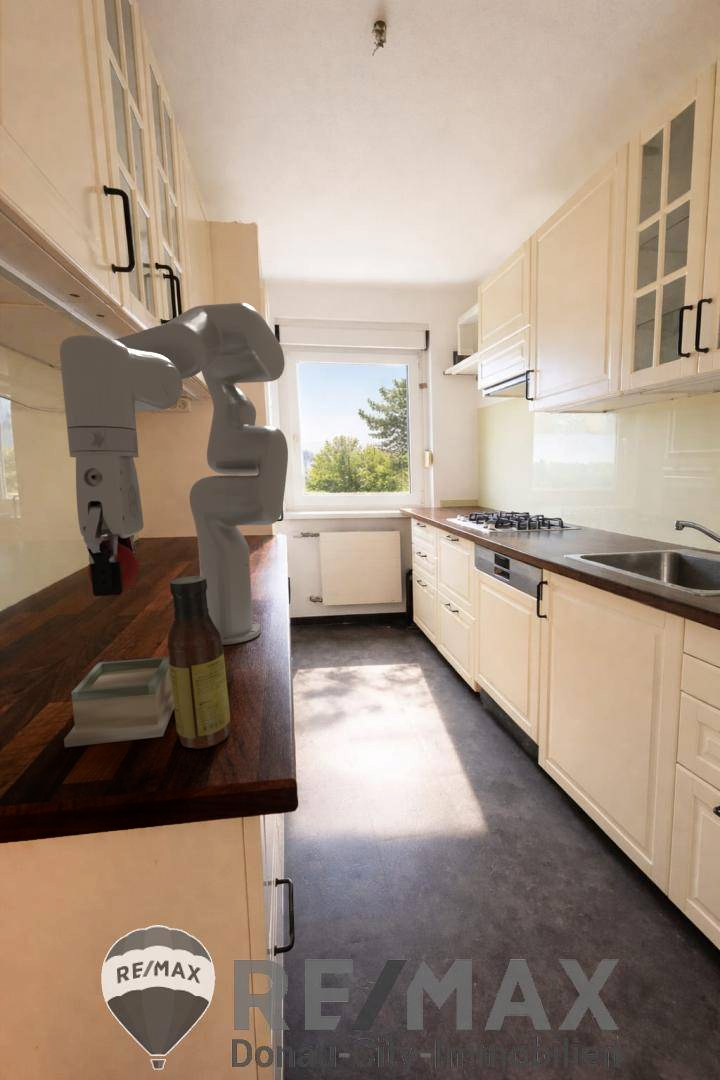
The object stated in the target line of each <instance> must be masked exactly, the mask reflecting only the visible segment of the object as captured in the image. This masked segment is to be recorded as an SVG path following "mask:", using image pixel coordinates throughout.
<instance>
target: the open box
mask: <svg viewBox="0 0 720 1080" xmlns="http://www.w3.org/2000/svg"><path fill="white" fill-rule="evenodd" d="M169 660H170V659H169V656H164V657H163V656H160V657H150V658H139V659H137V658H136V659H123V660H113V661H99V662H98V663H96V664H95V666H93V668H92V669H91V670H90V671H89V672H88V674H86V675H85V677H84V678H83V679H82V680H81V681H80V682H79V683H78V685H76V687H75V688H74V689H73V690H72V691H70V693H71V702H72V703H71V704H72V712H73V723H74V725H73V727H72V729H71V730H70V731H69V732H68V733H67V735H66V736H65V737H64V739H63V744H64V748H70V747H80V746H88V745H89V746H91V745H98V744H106V743H113V742H114V743H117V742H125V741H135V740H143V739H150V738H151V739H152V738H160V737H164V734H165V731H166V729H167V726H168V724H169V722H170V720H171V718H172V717H171V716H172V715H173V711H175V710H174V701H173V692H172V684H171V675H170V667H169Z"/></svg>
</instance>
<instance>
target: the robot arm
mask: <svg viewBox="0 0 720 1080" xmlns="http://www.w3.org/2000/svg"><path fill="white" fill-rule="evenodd" d="M59 358H60V359H59V360H60V361H59V362H60V371H61V381H62V390H63V401H64V411H65V422H66V432H67V442H68V452H69V453H68V454H69V458H75V489H76V490H75V493H76V494H75V495H76V509H77V520H78V527H79V531H80V535H81V536H82V537H83V541H84V544H85V545H86V549H87V551H88V562H89V563H90V567H91V578H92V582H91V586H92V594H93V596H95V597H106V596H111V595H120V594H121V593H122V592H123V587H122V575H121V564H120V562H117V542H119V543H120V544H122V545H124V546H125V547H127V548H128V549H130V550H131V551H132V552H133V553H134V555H135V556H136V553H135V551H136V546H135V540H134V537H135V535H136V534H138V533H140V532H141V531H142V530H143V529H144V517H143V515H144V514H143V509H142V508H143V507H142V502H141V493H140V486H139V478H138V473H137V468H136V464H135V460H134V458H139V446H138V445H139V443H138V433H137V432H138V431H137V421H136V412H138V413H139V412H157V411H158V412H159V411H163V410H167V409H170V408H172V407H174V406H176V405H177V403H178V402H179V401H180V400H181V397H182V394H183V391H184V390H183V389H184V386H183V380H185V379H188V378H192V377H195V376H196V375H198V374H199V373H202V377H203V379H204V382H205V385H206V387H207V390H208V393H209V394H210V397H211V400H212V404H213V405H212V406H213V413H212V420H211V425H210V432H209V436H208V443H207V449H206V460H207V464H208V466H209V468H210V469H211V471H213V472H215V473H217V474H221V475H212V476H211V475H210V476H207V477H202V478H201V479H199V480H196V482H195V483H193V485H192V486H191V489H190V491H189V506H190V511H191V513H192V514H191V515H192V518H193V521H194V525H195V530H196V538H197V547H198V560H199V576H202V577H205V578H206V581H207V590H206V596H207V606H208V609H209V615H210V618H211V619H212V621H213V623H214V625H215V627H216V628H217V630H218V631H219V633H220V637H221V642H222V646H226V645H235V644H241V643H244V642H248V641H250V640H253V639H255V638H256V637H258V636H259V635H260V634H261V633H262V628H261V627H262V626H261V625H260V624H259V623H258V622H255V621H253V620H254V619H253V599H252V580H251V578H252V577H251V562H250V561H251V559H250V556H251V555H250V547H249V543H248V542H247V540H246V538H245V536H244V534H243V533H242V532H241V530H240V529H239V528H238V526H269V525H273V524H275V523H276V522H278V520H279V519H280V518H281V515H282V512H283V508H284V501H285V491H286V490H285V489H286V481H287V471H288V464H289V461H288V460H289V450H288V442H287V438H286V437H285V434H284V433H283V432H282V430H281V429H279V428H278V427H275V426H273V425H256V418H257V410H256V407H255V405H254V403H253V402H252V401H251V399H250V398H249V397H248V396H247V394H245V393H244V392H243V391H242V390H241V389H240V388H239V386H238V384H245V383H246V384H247V383H267V382H268V383H269V382H274V381H277V380H279V379H280V377H282V376H283V373H284V369H285V363H286V362H285V355H284V351H283V347H282V346H281V344H280V341H279V340H278V338H277V337H276V335H275V334H274V332H273V331H272V329H271V328H270V326H269V324H268V323H267V322H266V320H265V318H263V315H261V314H260V312H258V311H257V310H256V309H255V308H254V307H253V306H251V305H249V304H248V303H245V302H231V303H217V304H214V303H213V304H203V305H202V304H201V305H196V306H194V307H192V308H190V309H188V310H186V311H184V312H182V313H180V314H179V315H177V316H176V317H174V318H172V319H171V320H169V321H167V322H166V323H164V324H160V325H156V326H153V327H150V328H146V329H144V330H141V331H138V332H135V333H133V334H129V335H128V334H127V335H126V336H122V337H118V338H115V339H112V338H110V337H106V336H105V337H104V336H100V335H99V336H98V335H91V334H90V335H89V334H87V335H86V334H81V335H80V334H79V335H73V336H68V337H66V338H64V339H63V340H62V342H61V343H60V347H59ZM106 543H110V547H109V549H108V546H107V545H106Z"/></svg>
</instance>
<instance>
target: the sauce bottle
mask: <svg viewBox="0 0 720 1080" xmlns="http://www.w3.org/2000/svg"><path fill="white" fill-rule="evenodd" d="M169 589H170V590H169V591H170V593H171V595H172V600H173V607H174V610H173V611H174V613H173V616H174V621H173V623H172V625H171V628H170V630H169V632H168V634H167V635H168V636H167V643H166V644H167V646H166V647H167V650H168V657H169V659H170V660H169V667H170V675H171V684H172V692H173V701H174V710H173V711H174V718H175V726H176V728H175V729H176V732H177V734H178V738H179V741H180V743H181V746H183V747H184V748H188V749H189V748H190V749H197V750H199V749H200V750H202V749H207V748H211V747H213V746H216V745H219V744H220V743H221V742H223V741H226V738H228V737H229V734H230V732H231V722H230V721H231V712H230V702H229V694H228V693H229V692H228V685H227V683H228V682H227V674H226V664H225V663H226V662H225V655H224V654H225V653H224V647H223V645H222V642H221V637H220V633H219V631H218V630H217V628H216V627H215V625H214V623H213V621H212V619H211V618H210V615H209V609H208V606H207V596H206V590H207V581H206V578H205V577H202V576H200V575H192V576H191V575H189V576H188V575H187V576H182V577H177V578H175V579H172V580H171V581H170V582H169Z"/></svg>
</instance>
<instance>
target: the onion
mask: <svg viewBox="0 0 720 1080" xmlns="http://www.w3.org/2000/svg"><path fill="white" fill-rule="evenodd" d="M106 545H107V546H108V549H109V547H110V543H106ZM134 553H135V552H134ZM134 553H133V552H132V551H131V550H130V549H128V548H127V547H125V546H124V545H122V544H120V543H119V542H117V562H120V564H121V575H122V587H123V592H122V593H121V594H120V595H110V596H111V597H112V598H115V599H118V598H121V597H123V596H124V594H125V593H126V592H128V590H130V588H132V587H133V586H134V585H135V584H136V582H137V581H138V580H139V576H140V575H141V574H140V573H141V565H140V562H139V560H138V558H137V556H136V554H135V555H134ZM88 577H89V580H90V583H92V578H91V567H90V563H89V564H88Z"/></svg>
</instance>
